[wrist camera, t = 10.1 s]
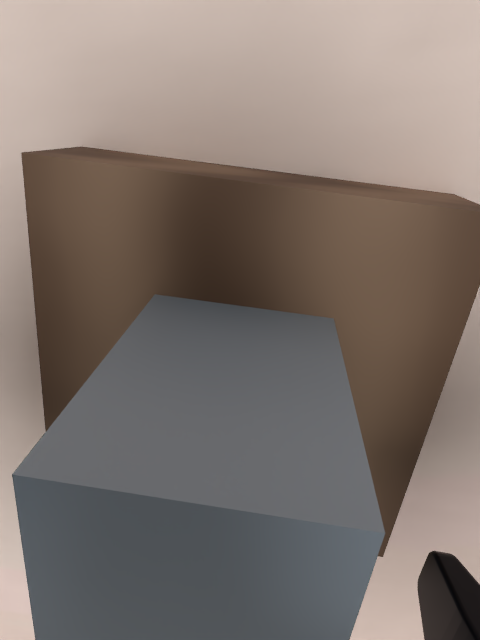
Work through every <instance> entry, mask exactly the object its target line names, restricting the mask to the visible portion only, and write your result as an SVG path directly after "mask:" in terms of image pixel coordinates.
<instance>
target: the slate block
mask: <svg viewBox="0 0 480 640" xmlns="http://www.w3.org/2000/svg"><path fill="white" fill-rule="evenodd" d="M12 477H13V484H14V491H15V498H16V505H17V512H18V519H19V526H20V534H21V541H22V548H23V555H24V562H25V569H26V576H27V583H28V590H29V597H30V604H31V611H32V619H33V626H34V633H35V640H349V639H350V636H351V633H352V630H353V627H354V624H355V621H356V618H357V615H358V612H359V609H360V607H361V604H362V601H363V598H364V595H365V592H366V589H367V586H368V583H369V580H370V577H371V574H372V571H373V568H374V565H375V562H376V559H377V556H378V553H379V550H380V547H381V544H382V541H383V538H384V535H385V530H384V526H383V522H382V518H381V514H380V509H379V505H378V501H377V497H376V493H375V489H374V484H373V480H372V476H371V472H370V468H369V464H368V459H367V455H366V451H365V447H364V443H363V439H362V434H361V430H360V426H359V422H358V418H357V414H356V409H355V405H354V401H353V397H352V393H351V389H350V384H349V380H348V376H347V372H346V368H345V364H344V359H343V355H342V351H341V347H340V343H339V339H338V334H337V330H336V326H335V322H334V318H326V317H319V316H312V315H304V314H297V313H289V312H282V311H275V310H267V309H260V308H252V307H245V306H238V305H230V304H223V303H215V302H208V301H201V300H193V299H186V298H178V297H171V296H163V295H156V294H155V295H154V296H153V297H152V299H151V300H150V301H149V302H148V304H147V305H146V306H145V307H144V309H143V310H142V311H141V312H140V314H139V315H138V316H137V318H136V319H135V320H134V321H133V323H132V324H131V325H130V326H129V328H128V329H127V330H126V331H125V333H124V334H123V335H122V336H121V338H120V339H119V340H118V342H117V343H116V344H115V345H114V347H113V348H112V349H111V350H110V352H109V353H108V354H107V355H106V357H105V358H104V359H103V360H102V362H101V363H100V364H99V366H98V367H97V368H96V369H95V371H94V372H93V373H92V374H91V376H90V377H89V378H88V379H87V381H86V382H85V383H84V384H83V386H82V387H81V388H80V390H79V391H78V392H77V393H76V395H75V396H74V397H73V398H72V400H71V401H70V402H69V403H68V405H67V406H66V407H65V408H64V410H63V411H62V412H61V414H60V415H59V416H58V417H57V419H56V420H55V421H54V422H53V424H52V425H51V426H50V427H49V429H48V430H47V431H46V432H45V434H44V435H43V436H42V438H41V439H40V440H39V441H38V443H37V444H36V445H35V446H34V448H33V449H32V450H31V451H30V453H29V454H28V455H27V456H26V458H25V459H24V460H23V462H22V463H21V464H20V465H19V467H18V468H17V469H16V470H15V472H14V473H13V474H12Z"/></svg>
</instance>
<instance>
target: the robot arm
mask: <svg viewBox="0 0 480 640" xmlns="http://www.w3.org/2000/svg"><path fill="white" fill-rule="evenodd" d="M418 596H419V603H420V610H421V617H422V625H423V632H424V639H425V640H480V584H479V583H478V582H477V581H476V580H475V579H474V577H473V576H472V575H471V574H470V573H469V572H468V571H467V569H466V568H465V567H464V566H463V565H462V564H461V562H460V561H459V560H458V559H457V558H456V557H455V556H454V555H452V554H449V553H443V552H437V551H432V552H430V553H429V555H428V557H427V559H426V561H425V564H424V566H423V569H422V571H421V573H420V576H419V579H418Z"/></svg>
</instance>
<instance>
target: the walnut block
mask: <svg viewBox="0 0 480 640" xmlns="http://www.w3.org/2000/svg"><path fill="white" fill-rule="evenodd" d="M22 165H23V176H24V188H25V199H26V211H27V222H28V233H29V245H30V256H31V268H32V279H33V291H34V302H35V314H36V325H37V337H38V348H39V360H40V371H41V383H42V394H43V405H44V417H45V428H46V431H47V430H48V429H49V427H50V426H51V425H52V424H53V422H54V421H55V420H56V419H57V417H58V416H59V415H60V414H61V412H62V411H63V410H64V408H65V407H66V406H67V405H68V403H69V402H70V401H71V400H72V398H73V397H74V396H75V395H76V393H77V392H78V391H79V390H80V388H81V387H82V386H83V384H84V383H85V382H86V381H87V379H88V378H89V377H90V376H91V374H92V373H93V372H94V371H95V369H96V368H97V367H98V366H99V364H100V363H101V362H102V360H103V359H104V358H105V357H106V355H107V354H108V353H109V352H110V350H111V349H112V348H113V347H114V345H115V344H116V343H117V342H118V340H119V339H120V338H121V336H122V335H123V334H124V333H125V331H126V330H127V329H128V328H129V326H130V325H131V324H132V323H133V321H134V320H135V319H136V318H137V316H138V315H139V314H140V312H141V311H142V310H143V309H144V307H145V306H146V305H147V304H148V302H149V301H150V300H151V299H152V297H153V296H154V295H155V294H156V295H163V296H171V297H178V298H186V299H193V300H201V301H208V302H215V303H223V304H230V305H238V306H245V307H252V308H260V309H267V310H275V311H282V312H289V313H297V314H304V315H312V316H319V317H326V318H334V322H335V326H336V330H337V334H338V339H339V343H340V347H341V351H342V355H343V359H344V364H345V368H346V372H347V376H348V380H349V384H350V389H351V393H352V397H353V401H354V405H355V409H356V414H357V418H358V422H359V426H360V430H361V434H362V439H363V443H364V447H365V451H366V455H367V459H368V464H369V468H370V472H371V476H372V480H373V484H374V489H375V493H376V497H377V501H378V505H379V509H380V514H381V518H382V522H383V526H384V530H385V535H384V538H383V541H382V544H381V547H380V550H379V553H378V556H380V557H383V555H384V552H385V549H386V546H387V543H388V541H389V538H390V535H391V532H392V529H393V527H394V524H395V521H396V518H397V515H398V513H399V510H400V507H401V504H402V501H403V499H404V496H405V493H406V490H407V487H408V484H409V482H410V479H411V476H412V473H413V470H414V468H415V465H416V462H417V459H418V456H419V454H420V451H421V448H422V445H423V442H424V440H425V437H426V434H427V431H428V428H429V426H430V423H431V420H432V417H433V414H434V412H435V409H436V406H437V403H438V400H439V398H440V395H441V392H442V389H443V386H444V384H445V381H446V378H447V375H448V372H449V369H450V367H451V364H452V361H453V358H454V355H455V353H456V350H457V347H458V344H459V341H460V339H461V336H462V333H463V330H464V327H465V325H466V322H467V319H468V316H469V313H470V311H471V308H472V305H473V302H474V299H475V297H476V294H477V291H478V288H479V285H480V205H479V204H477V203H474V202H472V201H469V200H467V199H464V198H462V197H459V196H457V195H455V194H447V193H439V192H432V191H424V190H416V189H408V188H400V187H392V186H385V185H377V184H369V183H361V182H353V181H345V180H338V179H330V178H322V177H314V176H306V175H298V174H291V173H283V172H275V171H267V170H259V169H251V168H244V167H236V166H228V165H220V164H212V163H204V162H197V161H189V160H181V159H173V158H165V157H157V156H150V155H142V154H134V153H126V152H118V151H110V150H103V149H95V148H87V147H74V148H64V149H54V150H44V151H33V152H23V153H22Z"/></svg>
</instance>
